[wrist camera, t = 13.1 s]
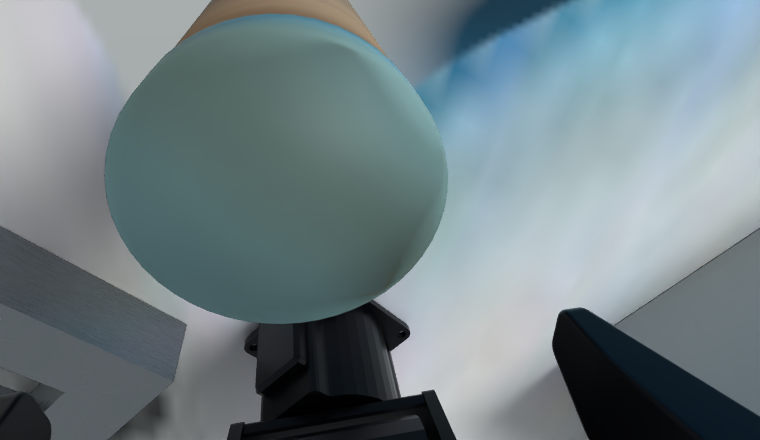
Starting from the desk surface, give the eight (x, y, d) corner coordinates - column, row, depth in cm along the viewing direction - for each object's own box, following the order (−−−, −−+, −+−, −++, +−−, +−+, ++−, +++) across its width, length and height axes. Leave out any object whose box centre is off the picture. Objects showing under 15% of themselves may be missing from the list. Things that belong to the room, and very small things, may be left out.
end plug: (305, 118, 19) (330, 358, 9) (189, 44, 17) (48, 248, 7) (378, 13, 18) (511, 159, 7) (260, -84, 16) (214, -67, 5)
